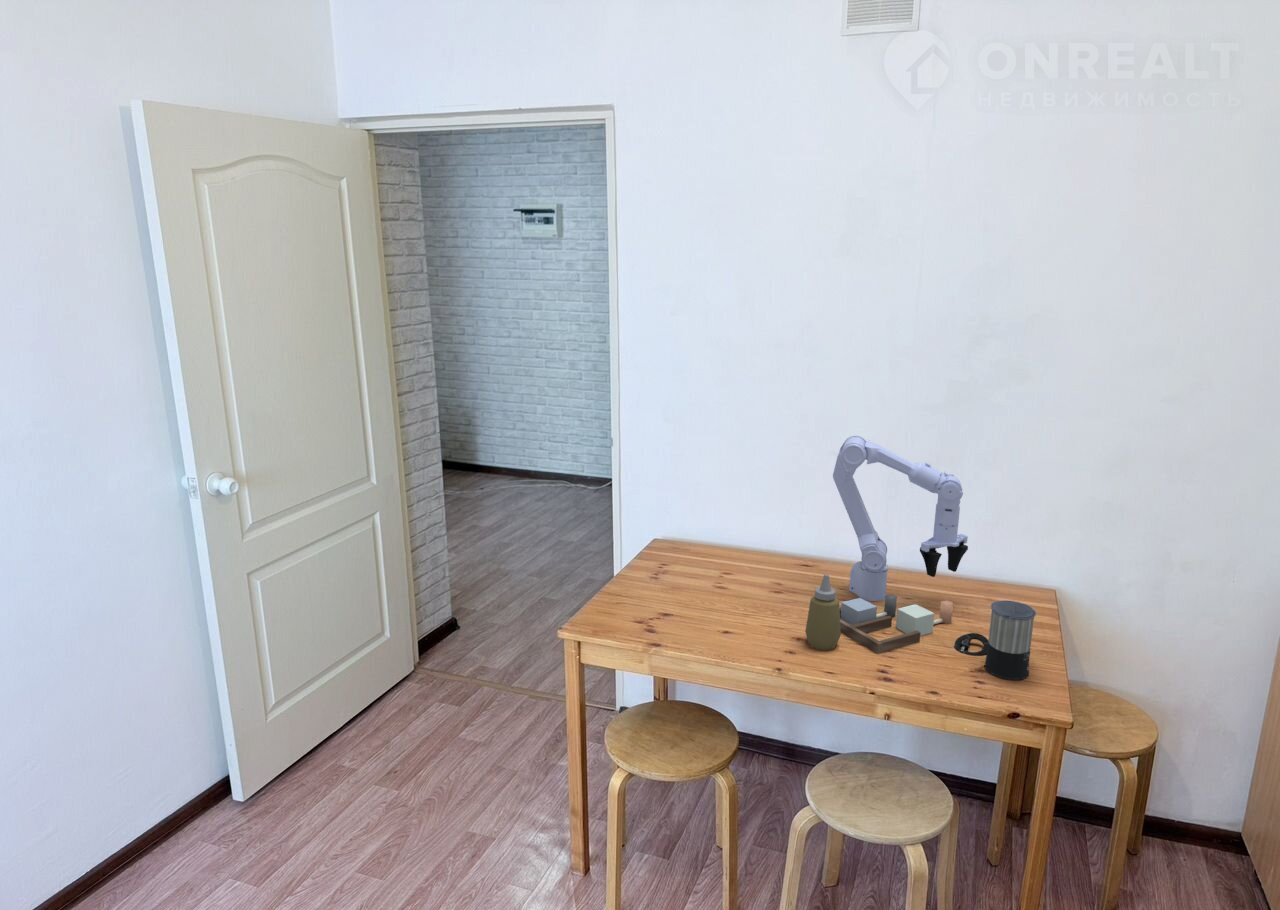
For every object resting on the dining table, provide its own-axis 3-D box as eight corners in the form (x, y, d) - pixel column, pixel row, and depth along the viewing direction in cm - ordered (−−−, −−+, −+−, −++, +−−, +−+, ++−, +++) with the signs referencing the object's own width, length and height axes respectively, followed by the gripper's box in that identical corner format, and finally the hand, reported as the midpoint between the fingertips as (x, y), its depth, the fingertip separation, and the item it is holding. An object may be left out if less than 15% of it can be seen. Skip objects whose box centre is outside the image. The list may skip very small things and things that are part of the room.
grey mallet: (840, 620, 204) (841, 602, 202) (885, 609, 210) (886, 591, 209) (856, 630, 198) (858, 611, 197) (902, 618, 205) (904, 599, 204)
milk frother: (1029, 684, 175) (1037, 620, 172) (950, 669, 182) (957, 608, 178) (1028, 655, 188) (1035, 595, 184) (955, 642, 194) (961, 584, 191)
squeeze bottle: (833, 658, 186) (837, 584, 182) (799, 649, 191) (803, 577, 186) (844, 644, 193) (849, 573, 189) (811, 636, 197) (815, 566, 193)
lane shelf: (821, 624, 204) (822, 611, 203) (904, 602, 216) (905, 591, 216) (877, 657, 187) (878, 644, 186) (964, 632, 200) (965, 619, 199)
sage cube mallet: (895, 627, 200) (897, 608, 199) (939, 615, 207) (941, 597, 205) (914, 637, 195) (916, 618, 194) (958, 625, 201) (960, 606, 200)
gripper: (937, 531, 202) (933, 583, 205) (979, 523, 208) (973, 573, 212) (916, 523, 208) (912, 573, 211) (957, 515, 215) (952, 564, 218)
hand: (941, 572), depth 212 cm, fingers open, 7 cm apart
